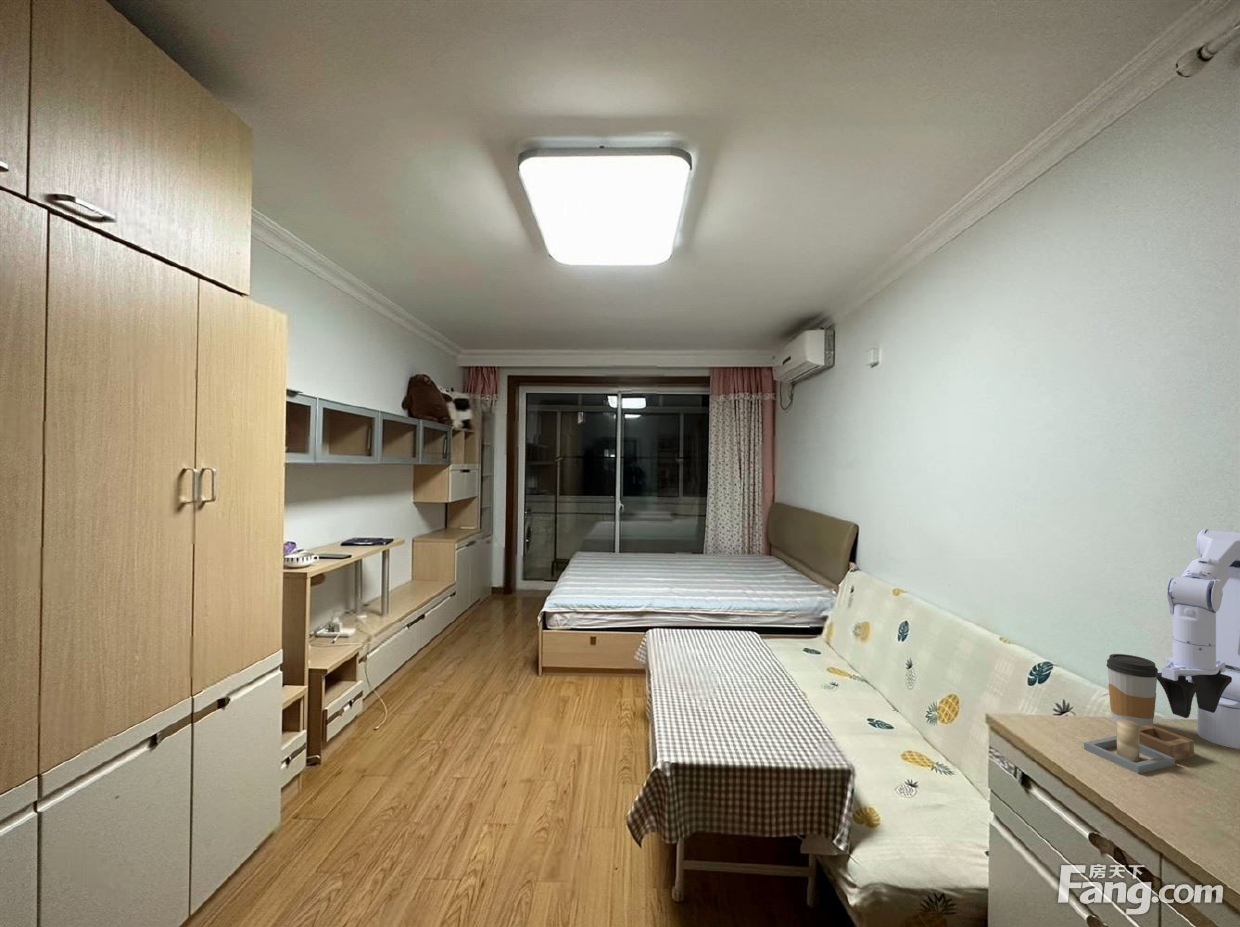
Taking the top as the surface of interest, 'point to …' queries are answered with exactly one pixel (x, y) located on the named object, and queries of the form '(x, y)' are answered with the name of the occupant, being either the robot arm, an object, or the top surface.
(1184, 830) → the top surface
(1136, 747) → the dowel
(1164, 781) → the top surface
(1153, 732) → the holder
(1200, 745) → the top surface
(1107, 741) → the tray
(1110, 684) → the coffee cup
